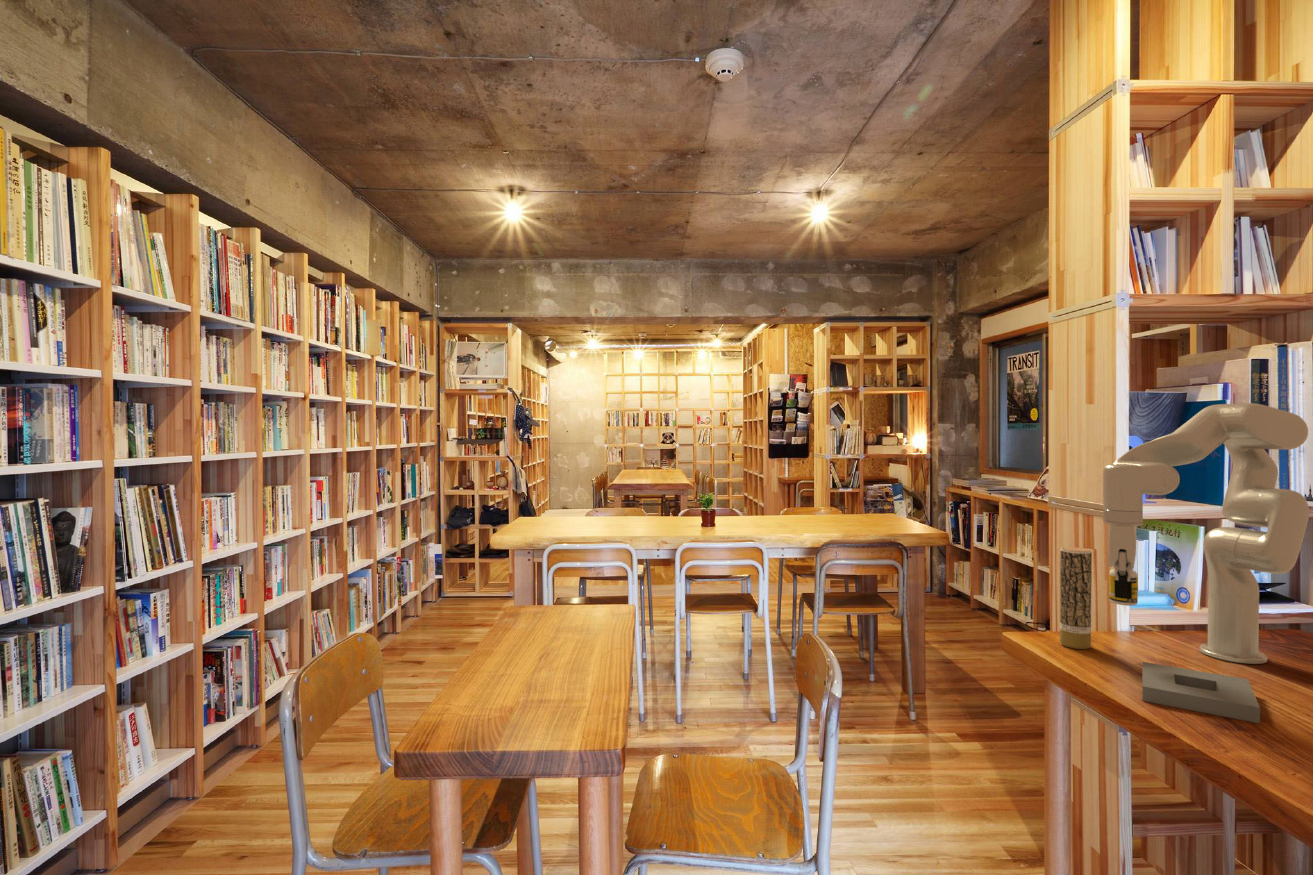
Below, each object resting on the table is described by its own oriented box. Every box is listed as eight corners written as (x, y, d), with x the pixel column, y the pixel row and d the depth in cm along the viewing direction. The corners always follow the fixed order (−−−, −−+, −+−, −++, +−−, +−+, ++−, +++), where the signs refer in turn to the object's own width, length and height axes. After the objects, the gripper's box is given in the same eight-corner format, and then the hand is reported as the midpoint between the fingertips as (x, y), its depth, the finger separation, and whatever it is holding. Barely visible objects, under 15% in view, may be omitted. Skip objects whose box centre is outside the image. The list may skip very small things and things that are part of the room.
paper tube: (1095, 651, 168) (1096, 552, 168) (1066, 649, 169) (1066, 551, 169) (1084, 642, 174) (1084, 547, 174) (1055, 641, 176) (1056, 546, 176)
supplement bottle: (1129, 607, 151) (1129, 564, 151) (1104, 602, 156) (1104, 560, 156) (1142, 604, 154) (1142, 561, 153) (1117, 598, 158) (1117, 557, 158)
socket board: (1142, 674, 151) (1142, 661, 151) (1247, 693, 141) (1247, 679, 141) (1142, 700, 137) (1142, 686, 137) (1259, 723, 126) (1260, 707, 126)
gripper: (1104, 512, 163) (1105, 585, 164) (1101, 521, 150) (1102, 601, 150) (1142, 513, 159) (1143, 589, 159) (1142, 523, 145) (1143, 605, 145)
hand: (1123, 594), depth 155 cm, fingers closed on supplement bottle, 5 cm apart
